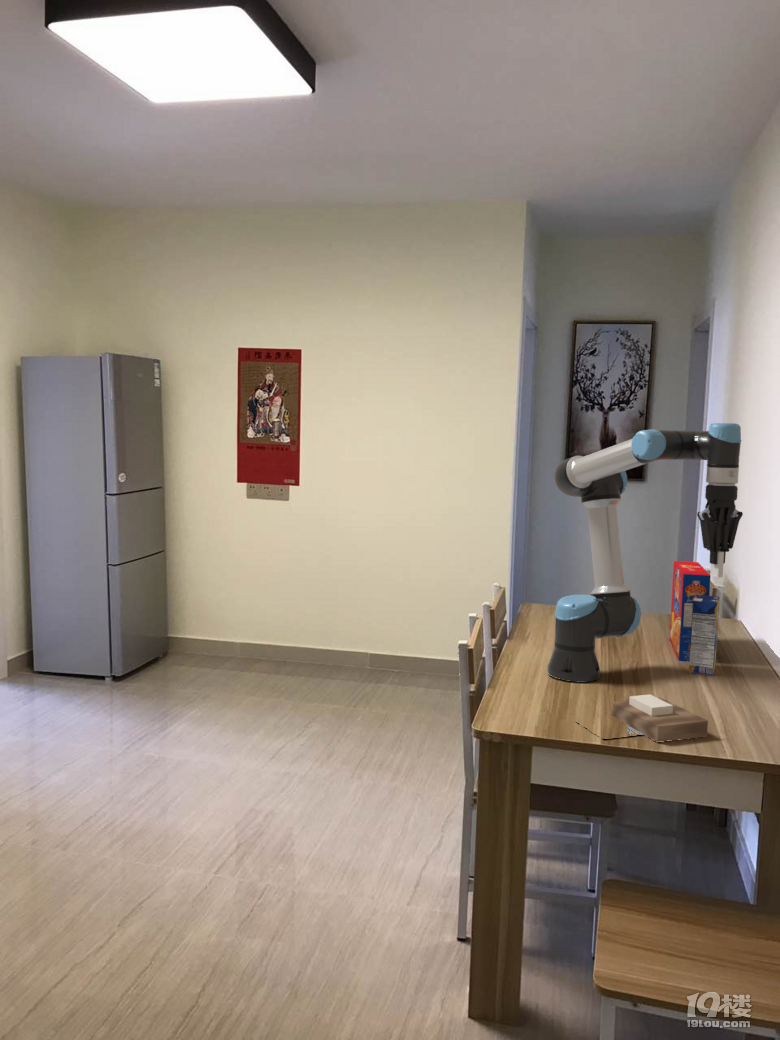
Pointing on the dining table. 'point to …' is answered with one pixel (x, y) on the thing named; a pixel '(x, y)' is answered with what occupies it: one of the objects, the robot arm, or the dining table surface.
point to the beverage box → (704, 634)
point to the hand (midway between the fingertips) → (716, 576)
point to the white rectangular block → (651, 705)
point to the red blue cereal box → (685, 603)
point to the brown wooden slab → (662, 722)
